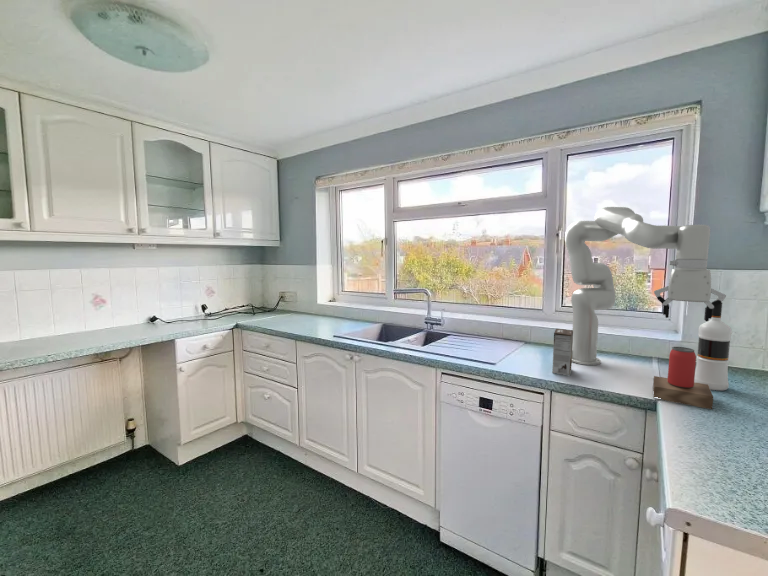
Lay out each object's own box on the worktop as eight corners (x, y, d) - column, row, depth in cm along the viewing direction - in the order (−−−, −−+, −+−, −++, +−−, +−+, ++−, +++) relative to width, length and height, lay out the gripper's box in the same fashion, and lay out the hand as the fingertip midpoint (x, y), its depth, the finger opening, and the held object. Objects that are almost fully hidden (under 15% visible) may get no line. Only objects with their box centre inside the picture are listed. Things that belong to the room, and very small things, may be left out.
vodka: (685, 381, 130) (692, 299, 127) (712, 382, 130) (719, 299, 127) (707, 391, 121) (715, 303, 118) (736, 391, 120) (744, 303, 117)
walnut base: (653, 398, 115) (654, 386, 115) (653, 387, 125) (654, 375, 125) (712, 409, 107) (713, 396, 107) (706, 396, 117) (707, 384, 116)
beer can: (667, 380, 120) (670, 345, 119) (693, 384, 116) (696, 348, 115) (667, 385, 115) (670, 349, 114) (694, 390, 111) (697, 352, 110)
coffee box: (554, 366, 148) (555, 328, 146) (571, 369, 144) (573, 329, 143) (551, 373, 140) (553, 332, 138) (570, 376, 136) (572, 334, 135)
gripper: (656, 264, 114) (652, 317, 116) (731, 266, 104) (725, 324, 106) (655, 263, 120) (651, 314, 122) (726, 265, 110) (721, 320, 112)
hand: (686, 318), depth 114 cm, fingers open, 9 cm apart
